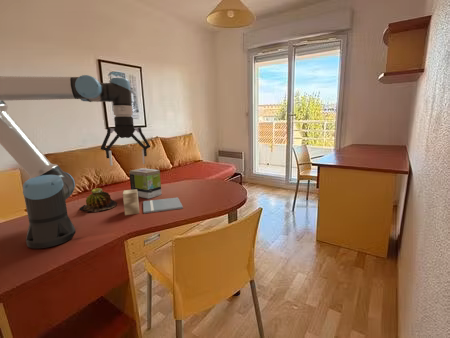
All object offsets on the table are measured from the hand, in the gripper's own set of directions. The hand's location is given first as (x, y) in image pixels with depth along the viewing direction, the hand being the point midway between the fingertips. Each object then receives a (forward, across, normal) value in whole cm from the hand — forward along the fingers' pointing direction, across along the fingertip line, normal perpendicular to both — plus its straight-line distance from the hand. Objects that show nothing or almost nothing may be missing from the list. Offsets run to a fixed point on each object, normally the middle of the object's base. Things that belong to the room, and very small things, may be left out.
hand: (127, 164), depth 109 cm
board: (+22, +14, +4) cm, 27 cm away
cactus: (+23, -16, +14) cm, 31 cm away
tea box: (+23, +7, +26) cm, 35 cm away
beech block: (+22, 0, 0) cm, 22 cm away
